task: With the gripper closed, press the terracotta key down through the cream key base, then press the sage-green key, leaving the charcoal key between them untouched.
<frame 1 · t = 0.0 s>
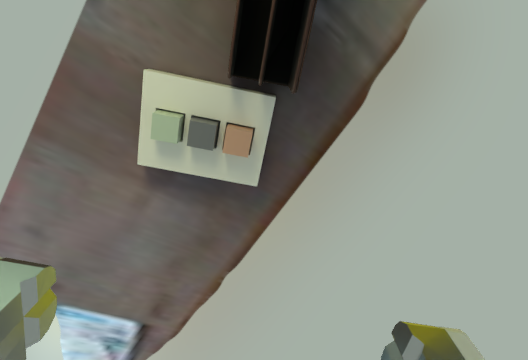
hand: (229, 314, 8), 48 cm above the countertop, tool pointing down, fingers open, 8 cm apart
cream key base: (207, 127, 54), on the countertop
terracotta key: (238, 140, 51), point 4 cm above the countertop, slide at 0.0 cm
charcoal key: (203, 133, 50), point 4 cm above the countertop, slide at 0.0 cm
letter holder: (272, 13, 49), on the countertop
sage key: (167, 126, 50), point 5 cm above the countertop, slide at 0.0 cm
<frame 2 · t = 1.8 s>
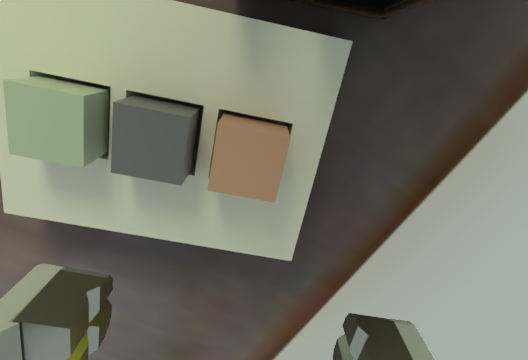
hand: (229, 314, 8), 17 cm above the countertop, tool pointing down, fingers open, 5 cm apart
cream key base: (176, 123, 23), on the countertop
terracotta key: (248, 156, 20), point 4 cm above the countertop, slide at 0.0 cm
charcoal key: (157, 139, 19), point 4 cm above the countertop, slide at 0.0 cm
sage key: (61, 120, 19), point 4 cm above the countertop, slide at 0.0 cm
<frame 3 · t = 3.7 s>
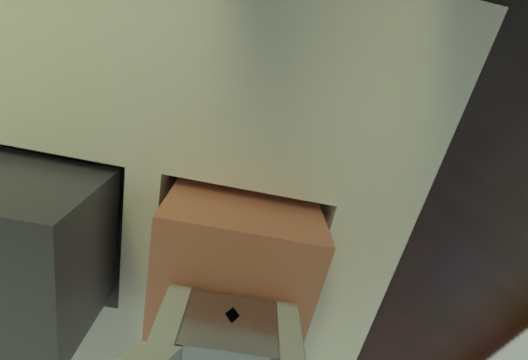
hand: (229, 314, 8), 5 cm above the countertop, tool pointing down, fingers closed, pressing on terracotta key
cream key base: (96, 181, 12), on the countertop
terracotta key: (235, 265, 9), point 4 cm above the countertop, slide at 0.9 cm, touching gripper
charcoal key: (7, 251, 8), point 4 cm above the countertop, slide at 0.0 cm
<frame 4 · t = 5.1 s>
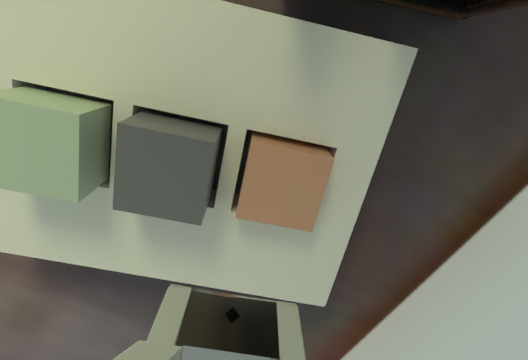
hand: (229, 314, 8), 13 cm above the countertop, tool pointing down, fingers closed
cream key base: (190, 142, 20), on the countertop
terracotta key: (281, 178, 17), point 3 cm above the countertop, slide at 1.4 cm
charcoal key: (170, 166, 15), point 4 cm above the countertop, slide at 0.0 cm
sage key: (51, 142, 15), point 4 cm above the countertop, slide at 0.0 cm
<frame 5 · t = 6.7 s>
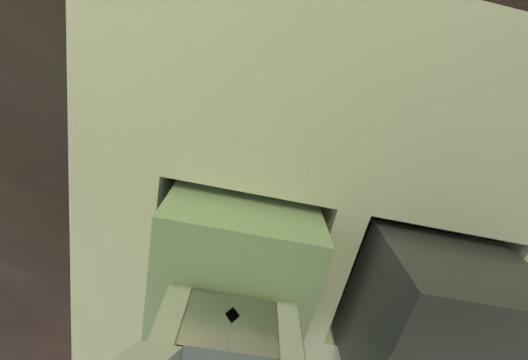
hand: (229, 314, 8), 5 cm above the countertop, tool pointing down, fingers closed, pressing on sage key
cream key base: (380, 235, 13), on the countertop
charcoal key: (437, 325, 9), point 4 cm above the countertop, slide at 0.0 cm
sage key: (235, 265, 9), point 3 cm above the countertop, slide at 1.1 cm, touching gripper
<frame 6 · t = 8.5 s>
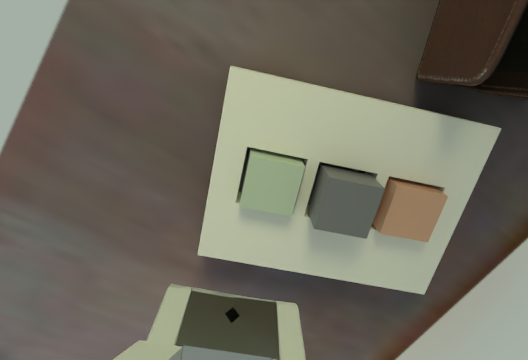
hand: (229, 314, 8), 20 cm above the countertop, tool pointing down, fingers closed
cream key base: (330, 180, 28), on the countertop
terracotta key: (404, 206, 26), point 3 cm above the countertop, slide at 1.4 cm
charcoal key: (343, 200, 24), point 4 cm above the countertop, slide at 0.0 cm
sage key: (270, 180, 25), point 3 cm above the countertop, slide at 1.4 cm
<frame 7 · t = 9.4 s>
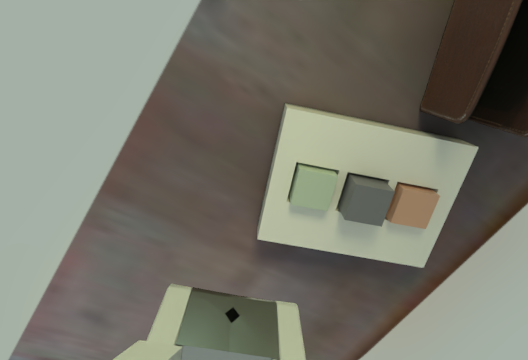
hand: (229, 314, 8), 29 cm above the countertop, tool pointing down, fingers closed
cream key base: (353, 183, 38), on the countertop
terracotta key: (409, 203, 35), point 3 cm above the countertop, slide at 1.4 cm
charcoal key: (364, 199, 34), point 4 cm above the countertop, slide at 0.0 cm
letter holder: (496, 17, 32), on the countertop
sage key: (311, 185, 35), point 3 cm above the countertop, slide at 1.4 cm
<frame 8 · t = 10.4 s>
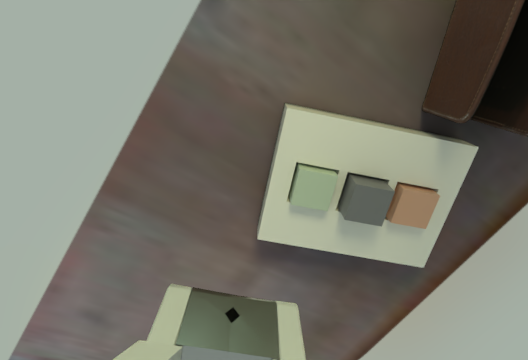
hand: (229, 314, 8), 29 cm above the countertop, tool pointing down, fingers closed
cream key base: (353, 183, 38), on the countertop
terracotta key: (409, 203, 36), point 3 cm above the countertop, slide at 1.4 cm
charcoal key: (364, 199, 34), point 4 cm above the countertop, slide at 0.0 cm
letter holder: (498, 17, 32), on the countertop
sage key: (312, 185, 35), point 3 cm above the countertop, slide at 1.4 cm
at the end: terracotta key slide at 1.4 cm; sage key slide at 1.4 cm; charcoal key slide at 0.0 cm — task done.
